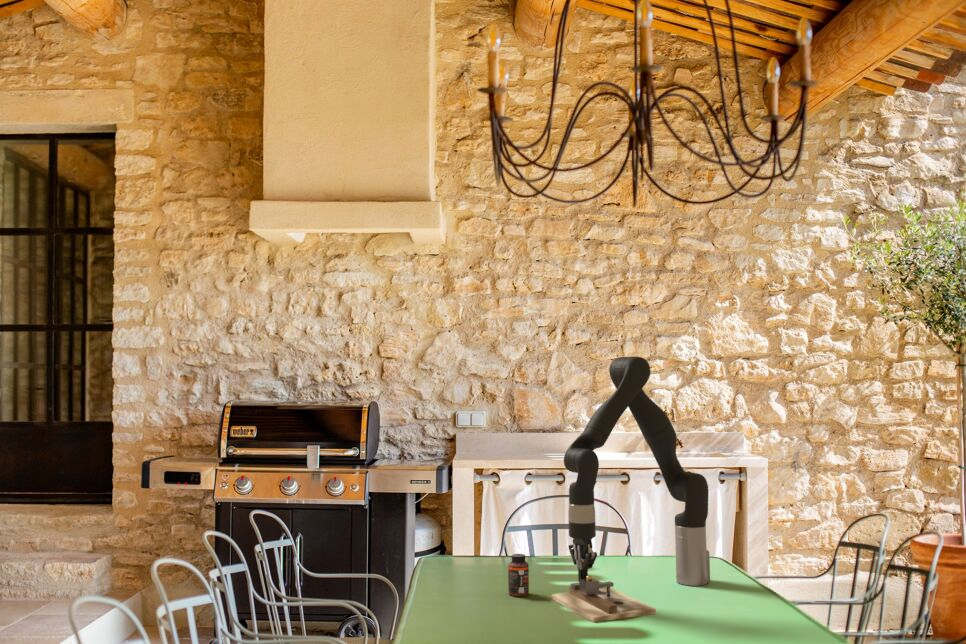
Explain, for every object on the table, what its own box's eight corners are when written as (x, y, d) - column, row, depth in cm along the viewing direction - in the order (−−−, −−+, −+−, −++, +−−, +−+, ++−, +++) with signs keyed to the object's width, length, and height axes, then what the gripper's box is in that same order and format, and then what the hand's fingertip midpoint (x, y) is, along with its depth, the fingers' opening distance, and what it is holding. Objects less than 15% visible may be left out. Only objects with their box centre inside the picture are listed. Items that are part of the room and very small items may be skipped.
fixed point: (598, 590, 229) (598, 580, 229) (602, 592, 227) (602, 582, 227) (571, 593, 226) (570, 583, 226) (575, 595, 224) (574, 585, 224)
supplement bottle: (527, 597, 228) (526, 557, 229) (506, 596, 229) (506, 556, 230) (530, 592, 234) (529, 553, 235) (510, 591, 235) (509, 552, 236)
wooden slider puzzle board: (609, 591, 234) (608, 580, 234) (656, 613, 211) (655, 601, 212) (551, 598, 227) (551, 587, 227) (593, 622, 204) (593, 609, 205)
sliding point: (608, 594, 224) (608, 572, 224) (615, 597, 220) (615, 575, 221) (580, 598, 220) (579, 575, 221) (586, 601, 217) (585, 578, 217)
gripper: (605, 522, 219) (606, 586, 218) (582, 515, 231) (583, 576, 230) (581, 524, 216) (582, 589, 215) (559, 517, 229) (560, 578, 227)
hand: (583, 582), depth 223 cm, fingers closed
